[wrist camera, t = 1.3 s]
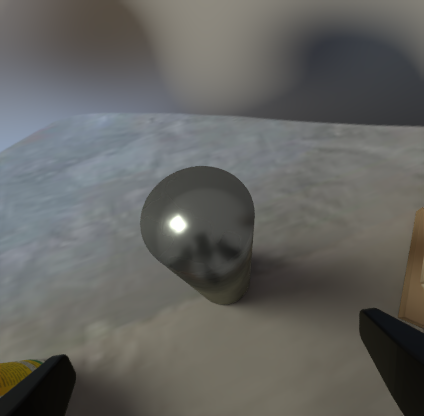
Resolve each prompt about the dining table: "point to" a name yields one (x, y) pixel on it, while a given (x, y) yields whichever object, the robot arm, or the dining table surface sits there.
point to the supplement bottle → (16, 373)
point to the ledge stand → (414, 277)
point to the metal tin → (202, 230)
